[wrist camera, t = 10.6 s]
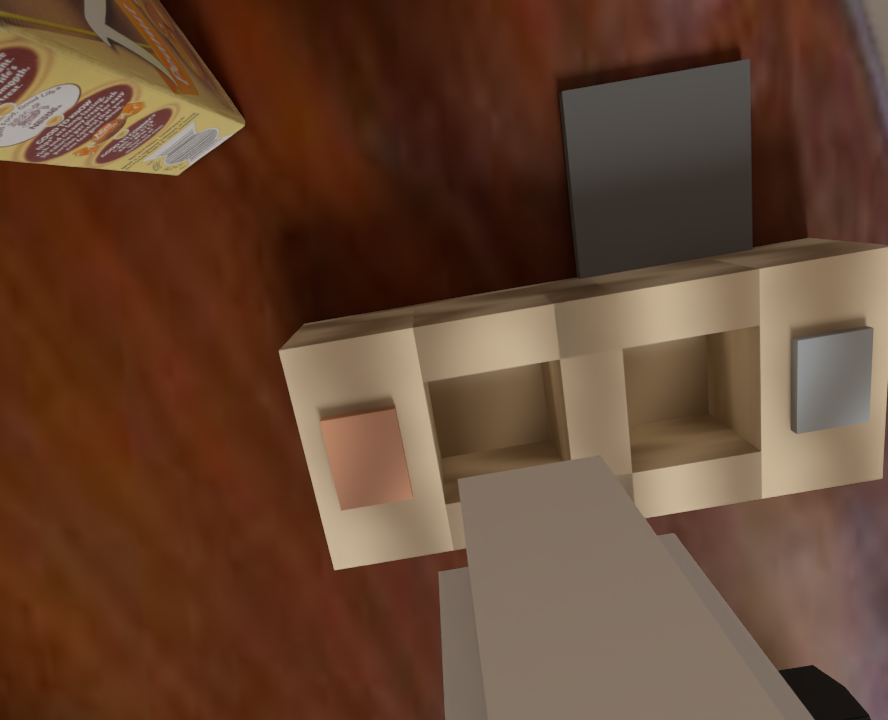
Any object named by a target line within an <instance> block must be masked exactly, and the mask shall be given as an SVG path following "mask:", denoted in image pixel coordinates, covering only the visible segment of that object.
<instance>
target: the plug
mask: <svg viewBox="0 0 888 720" xmlns="http://www.w3.org/2000/svg"><path fill="white" fill-rule="evenodd" d="M458 487H459V495H460V502H461V510H462V518H463V526H464V534H465V542H466V550H467V558H468V565H469V573H470V581H471V589H472V597H473V605H474V613H475V621H476V628H477V636H478V644H479V652H480V660H481V668H482V676H483V683H484V691H485V699H486V707H487V715H488V720H785V719H784V717H783V716H782V714H781V713H780V711H779V710H778V709H777V707H776V706H775V704H774V703H773V701H772V700H771V699H770V697H769V696H768V694H767V693H766V691H765V690H764V689H763V687H762V686H761V684H760V683H759V681H758V680H757V678H756V677H755V676H754V674H753V673H752V671H751V670H750V668H749V667H748V666H747V664H746V663H745V661H744V660H743V658H742V657H741V656H740V654H739V653H738V651H737V650H736V648H735V647H734V646H733V644H732V643H731V641H730V640H729V638H728V637H727V636H726V634H725V633H724V631H723V630H722V628H721V627H720V625H719V624H718V623H717V621H716V620H715V618H714V617H713V615H712V614H711V613H710V611H709V610H708V608H707V607H706V605H705V604H704V603H703V601H702V600H701V598H700V597H699V595H698V594H697V593H696V591H695V590H694V588H693V587H692V585H691V584H690V583H689V581H688V580H687V578H686V577H685V575H684V574H683V572H682V571H681V570H680V568H679V567H678V565H677V564H676V562H675V561H674V560H673V558H672V557H671V555H670V554H669V552H668V551H667V550H666V548H665V547H664V545H663V544H662V542H661V541H660V540H659V538H658V537H657V535H656V534H655V532H654V531H653V530H652V528H651V527H650V525H649V524H648V522H647V521H646V519H645V518H644V517H643V515H642V514H641V512H640V511H639V509H638V508H637V507H636V505H635V504H634V502H633V501H632V499H631V498H630V497H629V495H628V494H627V492H626V491H625V489H624V488H623V487H622V485H621V484H620V482H619V481H618V479H617V478H616V477H615V475H614V474H613V472H612V471H611V469H610V468H609V466H608V465H607V464H606V462H605V461H604V459H603V458H602V456H601V455H598V456H592V457H586V458H580V459H574V460H568V461H562V462H556V463H550V464H544V465H538V466H532V467H526V468H520V469H514V470H508V471H502V472H496V473H490V474H484V475H478V476H472V477H466V478H460V479H458Z"/></svg>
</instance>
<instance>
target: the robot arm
mask: <svg viewBox="0 0 888 720" xmlns="http://www.w3.org/2000/svg"><path fill="white" fill-rule="evenodd" d="M657 537H658V538H659V540H660V541H661V542H662V544H663V545H664V547H665V548H666V550H667V551H668V552H669V554H670V555H671V557H672V558H673V560H674V561H675V562H676V564H677V565H678V567H679V568H680V570H681V571H682V572H683V574H684V575H685V577H686V578H687V580H688V581H689V583H690V584H691V585H692V587H693V588H694V590H695V591H696V593H697V594H698V595H699V597H700V598H701V600H702V601H703V603H704V604H705V605H706V607H707V608H708V610H709V611H710V613H711V614H712V615H713V617H714V618H715V620H716V621H717V623H718V624H719V625H720V627H721V628H722V630H723V631H724V633H725V634H726V636H727V637H728V638H729V640H730V641H731V643H732V644H733V646H734V647H735V648H736V650H737V651H738V653H739V654H740V656H741V657H742V658H743V660H744V661H745V663H746V664H747V666H748V667H749V668H750V670H751V671H752V673H753V674H754V676H755V677H756V678H757V680H758V681H759V683H760V684H761V686H762V687H763V689H764V690H765V691H766V693H767V694H768V696H769V697H770V699H771V700H772V701H773V703H774V704H775V706H776V707H777V709H778V710H779V711H780V713H781V714H782V716H783V717H784V719H785V720H871V719H870V717H869V714H868V713H867V712H866V711H865V710H864V709H863V707H862V706H861V705H860V704H859V703H858V702H857V700H856V699H855V698H854V697H853V696H852V695H851V694H850V692H849V691H848V690H847V689H846V688H845V687H844V686H843V685H841V684H840V683H838V682H837V681H835V680H834V679H832V678H831V677H829V676H828V675H827V674H825V673H824V672H822V671H821V670H819V669H818V668H816V667H815V666H813V665H810V666H804V667H798V668H792V669H786V670H780V671H778V670H777V669H776V668H775V666H774V665H773V664H772V663H771V661H770V660H769V659H768V657H767V656H766V655H765V653H764V652H763V651H762V649H761V648H760V647H759V645H758V644H757V643H756V641H755V640H754V639H753V637H752V636H751V635H750V633H749V632H748V631H747V629H746V628H745V627H744V625H743V624H742V623H741V621H740V620H739V619H738V617H737V616H736V615H735V613H734V612H733V611H732V609H731V608H730V607H729V605H728V604H727V603H726V601H725V600H724V599H723V597H722V596H721V595H720V593H719V592H718V591H717V590H716V588H715V587H714V586H713V584H712V583H711V582H710V580H709V579H708V578H707V576H706V575H705V574H704V572H703V571H702V570H701V568H700V567H699V566H698V564H697V563H696V562H695V560H694V559H693V558H692V556H691V555H690V554H689V552H688V551H687V550H686V548H685V547H684V546H683V544H682V543H681V542H680V540H679V539H678V538H677V536H676V535H675V534H674V533H671V534H665V535H659V536H657ZM439 592H440V615H441V637H442V659H443V681H444V703H445V720H488V715H487V707H486V699H485V691H484V683H483V676H482V668H481V660H480V652H479V644H478V636H477V628H476V621H475V613H474V605H473V597H472V589H471V581H470V573H469V567H466V568H460V569H454V570H448V571H442V572H439Z"/></svg>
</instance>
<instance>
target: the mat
mask: <svg viewBox="0 0 888 720" xmlns="http://www.w3.org/2000/svg"><path fill="white" fill-rule="evenodd" d="M559 103H560V113H561V123H562V133H563V143H564V153H565V163H566V173H567V183H568V193H569V203H570V213H571V223H572V233H573V243H574V253H575V263H576V274H577V278H579V279H583V278H589V277H595V276H601V275H607V274H613V273H618V272H624V271H630V270H636V269H642V268H648V267H654V266H660V265H666V264H671V263H677V262H683V261H689V260H695V259H701V258H707V257H713V256H718V255H724V254H730V253H736V252H742V251H748V250H753V237H752V165H751V93H750V59H746V60H740V61H735V62H729V63H723V64H717V65H711V66H706V67H700V68H694V69H688V70H682V71H677V72H671V73H665V74H659V75H653V76H648V77H642V78H636V79H630V80H624V81H618V82H613V83H607V84H601V85H595V86H589V87H584V88H578V89H572V90H566V91H562V92H560V93H559Z"/></svg>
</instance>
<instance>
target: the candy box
mask: <svg viewBox="0 0 888 720" xmlns="http://www.w3.org/2000/svg"><path fill="white" fill-rule="evenodd" d="M244 126H245V120H244V118H243V117H242V115H241V114H240V113H239V111H238V110H237V108H236V107H235V105H234V104H233V102H232V101H231V99H230V98H229V97H228V95H227V94H226V92H225V91H224V89H223V88H222V87H221V85H220V84H219V82H218V81H217V80H216V78H215V77H214V75H213V74H212V73H211V71H210V70H209V69H208V67H207V66H206V64H205V63H204V62H203V60H202V59H201V57H200V56H199V55H198V53H197V52H196V50H195V49H194V48H193V46H192V45H191V44H190V42H189V41H188V39H187V38H186V37H185V35H184V34H183V33H182V31H181V30H180V29H179V27H178V26H177V25H176V23H175V22H174V20H173V19H172V18H171V16H170V15H169V13H168V12H167V11H166V9H165V8H164V7H163V5H162V4H161V3H160V1H159V0H0V160H5V161H16V162H25V163H38V164H49V165H61V166H71V167H85V168H97V169H109V170H119V171H132V172H142V173H154V174H168V175H179V174H181V173H182V172H183V171H184V170H186V169H187V168H188V167H190V166H191V165H192V164H194V163H195V162H196V161H197V160H199V159H200V158H201V157H203V156H204V155H206V154H207V153H208V152H210V151H211V150H213V149H214V148H216V147H217V146H218V145H220V144H221V143H222V142H224V141H225V140H227V139H228V138H229V137H231V136H232V135H233V134H235V133H236V132H237V131H239V130H240V129H241V128H243V127H244Z"/></svg>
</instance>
